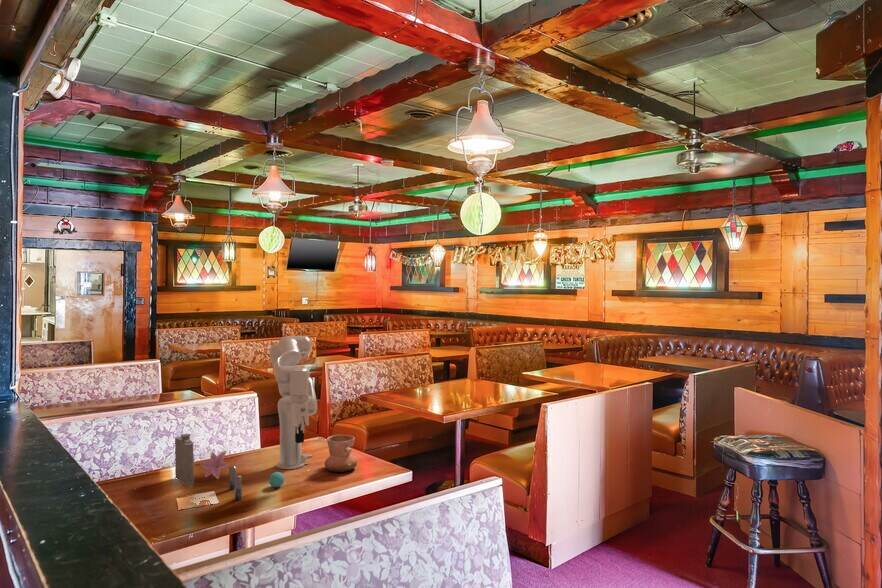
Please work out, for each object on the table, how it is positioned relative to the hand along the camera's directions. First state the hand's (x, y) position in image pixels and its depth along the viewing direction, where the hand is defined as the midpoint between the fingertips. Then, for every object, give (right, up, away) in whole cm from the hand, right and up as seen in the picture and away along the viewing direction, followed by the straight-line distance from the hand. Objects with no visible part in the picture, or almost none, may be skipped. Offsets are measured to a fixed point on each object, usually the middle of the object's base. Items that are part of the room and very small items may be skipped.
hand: (299, 442), depth 235 cm
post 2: (-19, -17, -18) cm, 31 cm away
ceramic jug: (+14, -17, +18) cm, 28 cm away
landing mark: (-35, -18, -19) cm, 43 cm away
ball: (-8, -14, -4) cm, 17 cm away
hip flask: (-48, -17, +2) cm, 51 cm away
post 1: (-25, -17, -6) cm, 31 cm away
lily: (-39, -17, +10) cm, 44 cm away
